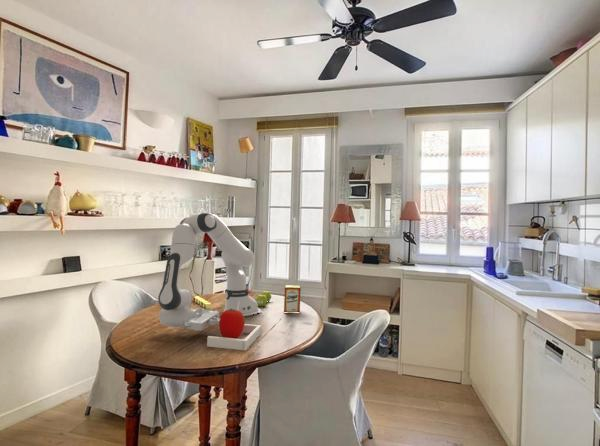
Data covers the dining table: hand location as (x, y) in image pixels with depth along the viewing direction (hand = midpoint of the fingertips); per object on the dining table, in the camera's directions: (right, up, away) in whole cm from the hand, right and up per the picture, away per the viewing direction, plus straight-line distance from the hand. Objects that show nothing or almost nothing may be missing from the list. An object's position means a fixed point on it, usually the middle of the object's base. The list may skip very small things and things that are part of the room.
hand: (220, 321), depth 153 cm
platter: (-27, -7, +58) cm, 64 cm away
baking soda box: (+32, -9, +49) cm, 59 cm away
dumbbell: (+12, -8, +67) cm, 69 cm away
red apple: (+5, -8, -1) cm, 10 cm away
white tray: (+7, -8, -1) cm, 10 cm away
